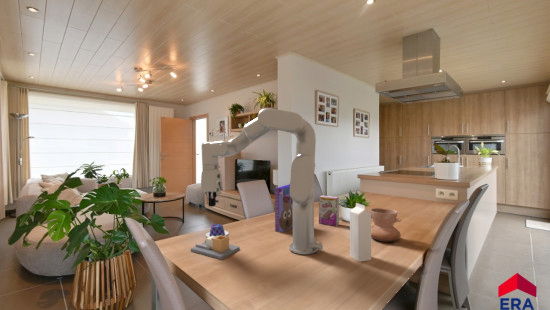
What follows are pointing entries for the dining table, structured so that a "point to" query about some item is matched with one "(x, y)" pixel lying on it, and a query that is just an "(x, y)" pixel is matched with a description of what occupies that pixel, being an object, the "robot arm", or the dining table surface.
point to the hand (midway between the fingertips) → (212, 205)
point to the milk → (360, 233)
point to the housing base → (212, 253)
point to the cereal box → (283, 209)
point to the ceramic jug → (384, 225)
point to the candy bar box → (329, 210)
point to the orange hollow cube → (220, 243)
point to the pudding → (217, 231)
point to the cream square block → (210, 241)
